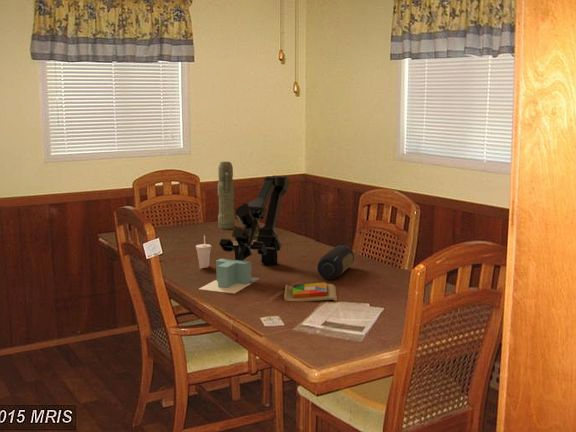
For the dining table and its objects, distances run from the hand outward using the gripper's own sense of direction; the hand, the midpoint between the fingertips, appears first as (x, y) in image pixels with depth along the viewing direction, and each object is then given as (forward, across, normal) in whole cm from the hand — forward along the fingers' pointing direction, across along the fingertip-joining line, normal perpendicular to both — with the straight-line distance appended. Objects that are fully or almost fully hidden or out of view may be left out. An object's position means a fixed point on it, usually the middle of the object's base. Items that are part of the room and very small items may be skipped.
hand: (236, 264), depth 279 cm
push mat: (+9, 0, +1) cm, 9 cm away
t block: (+8, 0, 0) cm, 8 cm away
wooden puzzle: (+9, +33, +2) cm, 34 cm away
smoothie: (-5, -22, +14) cm, 27 cm away
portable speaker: (-14, +32, +24) cm, 42 cm away
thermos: (-60, -53, +70) cm, 106 cm away
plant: (-41, -23, +50) cm, 69 cm away
